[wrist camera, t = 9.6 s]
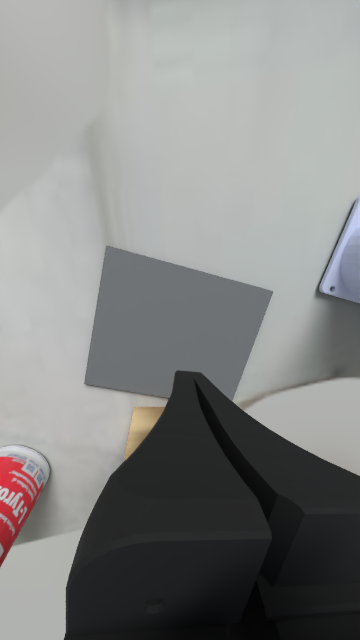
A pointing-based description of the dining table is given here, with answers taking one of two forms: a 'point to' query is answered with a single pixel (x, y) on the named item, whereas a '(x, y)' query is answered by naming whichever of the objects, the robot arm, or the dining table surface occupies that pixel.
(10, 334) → the dining table surface
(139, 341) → the mat
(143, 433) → the oak block
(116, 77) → the dining table surface
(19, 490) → the pill bottle
